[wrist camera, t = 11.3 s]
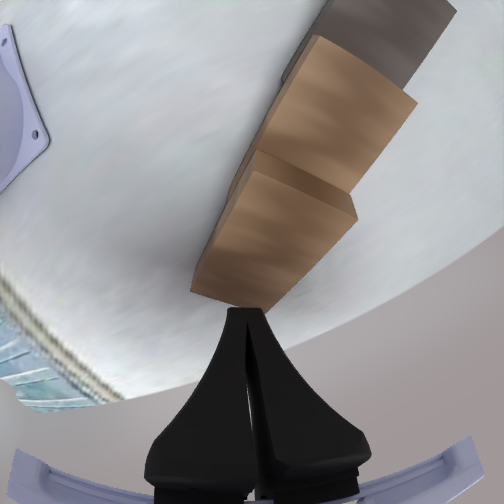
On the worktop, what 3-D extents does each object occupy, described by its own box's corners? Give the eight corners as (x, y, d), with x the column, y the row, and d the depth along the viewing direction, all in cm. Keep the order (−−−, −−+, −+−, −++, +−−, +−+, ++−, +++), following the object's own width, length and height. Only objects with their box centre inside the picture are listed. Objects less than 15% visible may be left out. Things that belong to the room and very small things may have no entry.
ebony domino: (283, 82, 9) (374, -56, 4) (281, 76, 11) (362, -48, 5) (370, 133, 11) (457, 10, 5) (361, 121, 12) (439, 9, 6)
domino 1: (226, 204, 12) (320, 35, 7) (230, 185, 13) (313, 34, 8) (312, 238, 13) (418, 103, 8) (309, 217, 14) (401, 92, 9)
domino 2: (190, 291, 14) (253, 170, 9) (195, 267, 16) (256, 149, 10) (264, 313, 16) (358, 219, 10) (265, 291, 17) (350, 194, 11)
